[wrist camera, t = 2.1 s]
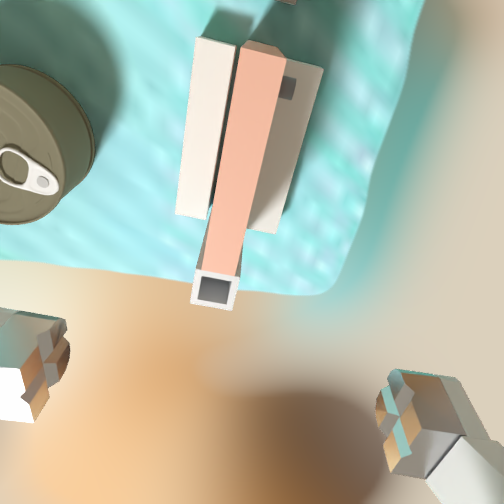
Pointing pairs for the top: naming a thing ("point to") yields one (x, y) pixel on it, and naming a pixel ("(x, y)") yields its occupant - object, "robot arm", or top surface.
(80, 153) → the can
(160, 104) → the top surface
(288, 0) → the cabinet
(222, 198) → the door
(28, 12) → the top surface
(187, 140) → the door stand
